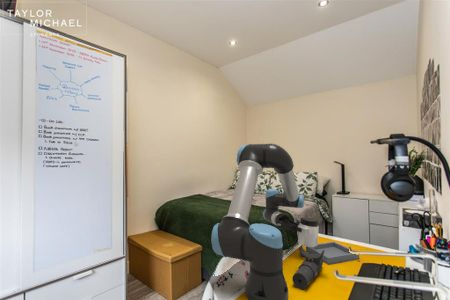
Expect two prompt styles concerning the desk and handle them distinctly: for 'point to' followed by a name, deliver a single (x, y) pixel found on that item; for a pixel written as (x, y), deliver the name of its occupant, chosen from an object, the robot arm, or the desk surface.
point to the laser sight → (307, 268)
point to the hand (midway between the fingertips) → (307, 232)
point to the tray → (333, 252)
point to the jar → (314, 228)
